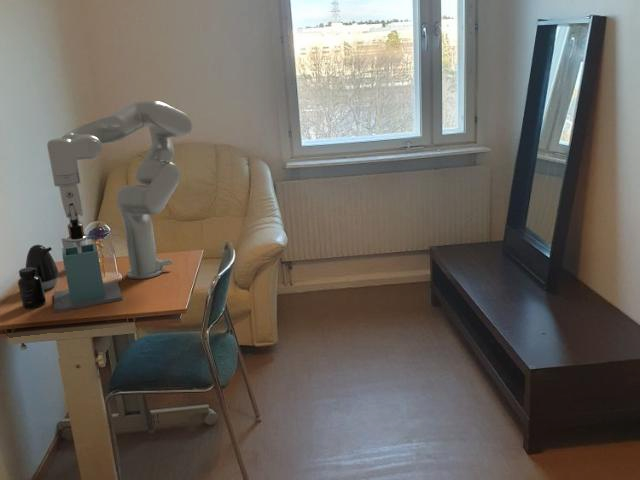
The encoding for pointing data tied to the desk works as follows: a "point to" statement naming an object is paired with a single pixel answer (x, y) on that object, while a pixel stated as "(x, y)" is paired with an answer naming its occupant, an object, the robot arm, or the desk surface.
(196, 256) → the desk surface
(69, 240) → the plunger
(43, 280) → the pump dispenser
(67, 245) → the skincare box
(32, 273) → the supplement bottle
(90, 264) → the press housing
